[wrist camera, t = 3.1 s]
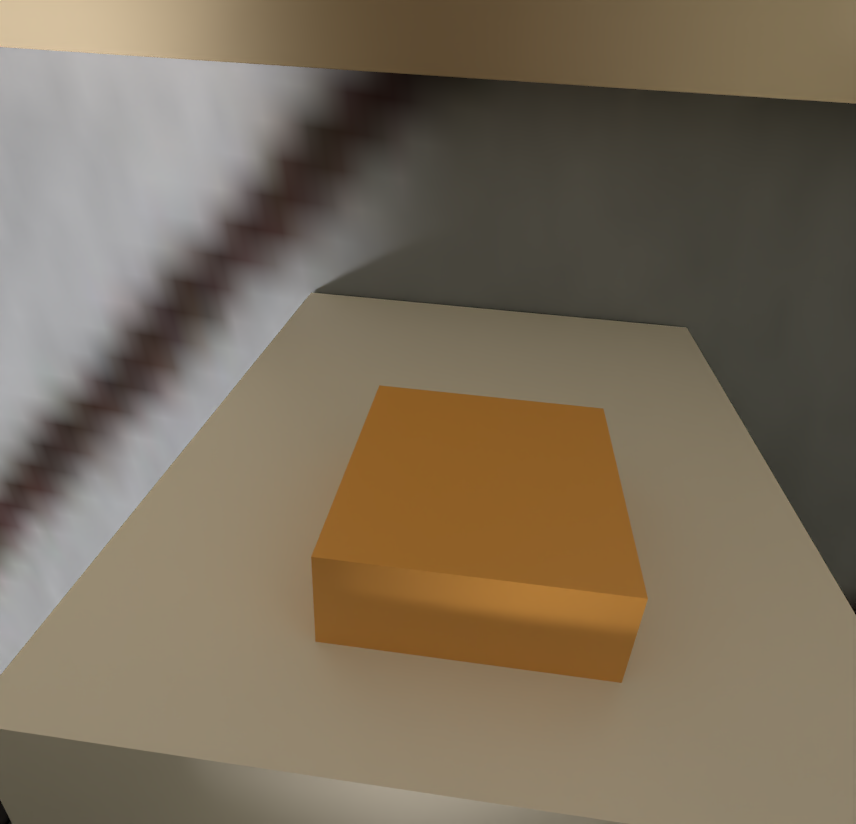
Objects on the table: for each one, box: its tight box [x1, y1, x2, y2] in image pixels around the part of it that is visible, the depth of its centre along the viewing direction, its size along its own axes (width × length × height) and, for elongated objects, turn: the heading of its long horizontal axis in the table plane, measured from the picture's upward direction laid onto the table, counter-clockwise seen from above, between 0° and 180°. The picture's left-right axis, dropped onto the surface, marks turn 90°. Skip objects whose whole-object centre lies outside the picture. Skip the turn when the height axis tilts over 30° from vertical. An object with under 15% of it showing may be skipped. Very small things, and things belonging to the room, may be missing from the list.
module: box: [0, 293, 856, 824], centre depth 7 cm, size 4×8×6 cm, turn 177°
